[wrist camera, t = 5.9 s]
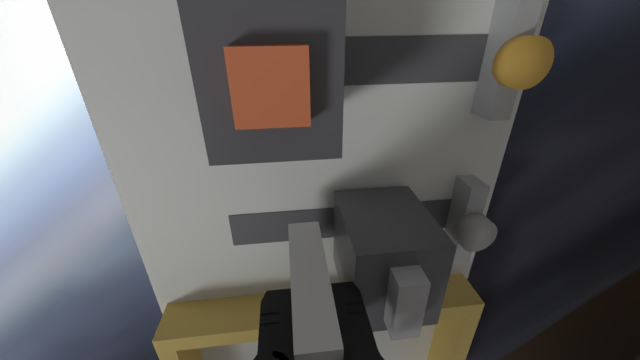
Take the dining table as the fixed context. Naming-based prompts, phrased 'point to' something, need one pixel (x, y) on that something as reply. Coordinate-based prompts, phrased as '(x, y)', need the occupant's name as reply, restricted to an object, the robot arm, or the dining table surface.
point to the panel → (310, 175)
